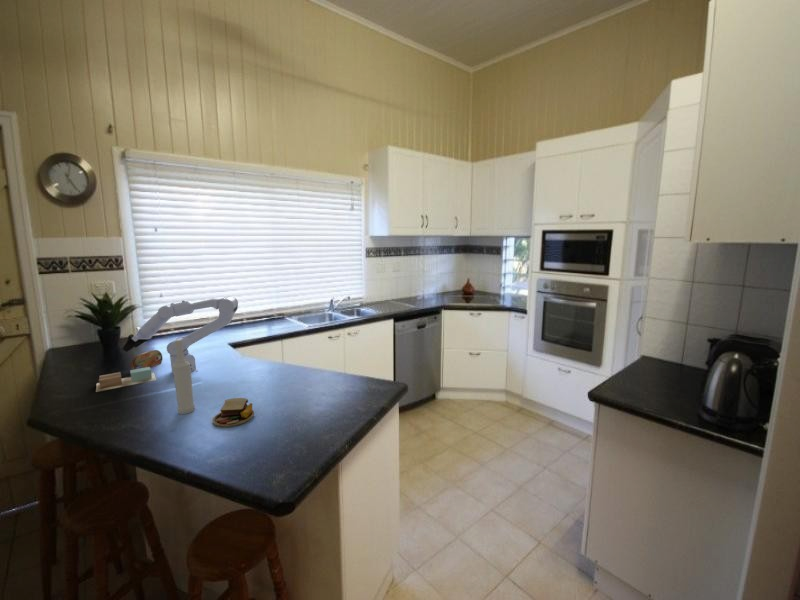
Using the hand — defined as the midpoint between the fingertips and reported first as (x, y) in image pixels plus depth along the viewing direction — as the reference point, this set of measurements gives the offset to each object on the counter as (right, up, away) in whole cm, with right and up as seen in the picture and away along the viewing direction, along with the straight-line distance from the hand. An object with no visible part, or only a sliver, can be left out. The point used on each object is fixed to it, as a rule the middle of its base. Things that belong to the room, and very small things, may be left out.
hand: (129, 348), depth 164 cm
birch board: (+4, -14, -7) cm, 16 cm away
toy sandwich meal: (+63, -18, -41) cm, 77 cm away
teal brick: (+8, -13, -4) cm, 16 cm away
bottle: (+45, -17, -35) cm, 59 cm away
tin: (0, -12, +11) cm, 16 cm away
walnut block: (0, -14, -10) cm, 17 cm away
